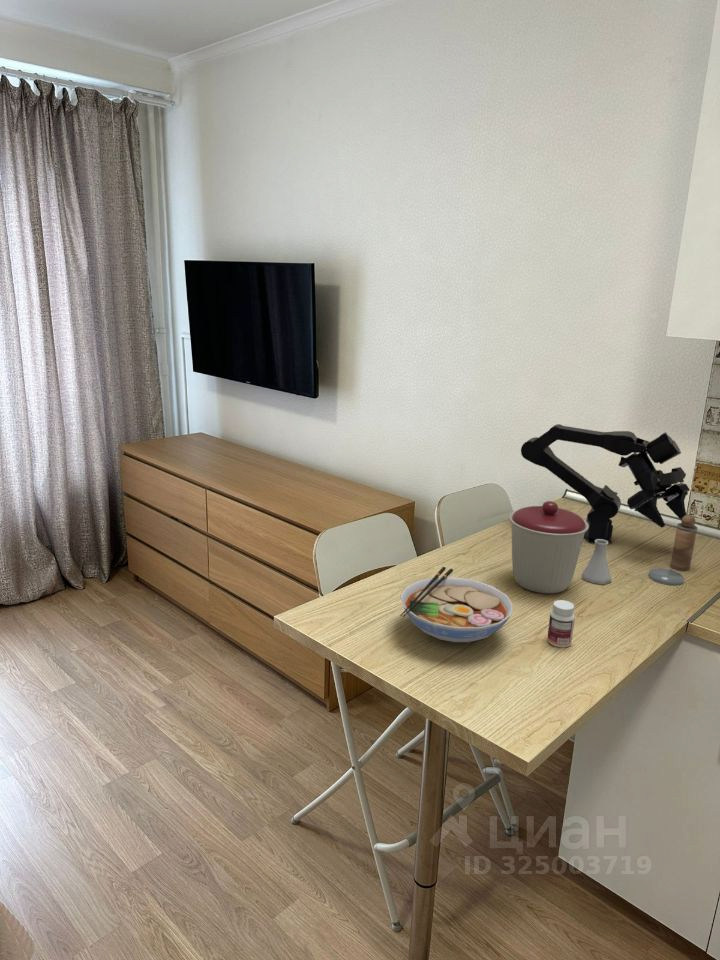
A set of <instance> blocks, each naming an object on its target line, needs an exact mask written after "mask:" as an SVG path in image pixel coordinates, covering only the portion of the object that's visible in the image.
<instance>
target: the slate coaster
mask: <svg viewBox="0 0 720 960" xmlns="http://www.w3.org/2000/svg"><path fill="white" fill-rule="evenodd" d="M648 577H649V579H651V580H652V581H653V582H656V583H659V584H663V585H665V586H680V585H682V584H683V583H684V579H685V577H684V575H682V574H681V573H680V572H679V571H677V570H676V571H675V570H674V569H670V568H662V567H661V568H660V567H655V568H650V570H649V571H648Z"/></svg>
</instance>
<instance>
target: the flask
mask: <svg viewBox="0 0 720 960" xmlns="http://www.w3.org/2000/svg"><path fill="white" fill-rule="evenodd" d="M594 544H595V546H594V551H593V552H592V554H591V557H590V558H589V561H588V562H587V564H586V566H585V568H584V569H583V570H582V573H581V579H583V580H585V581H587V582H588V583H592V584H599V585H607V584H610V583H612V577H611V572H610V567H609V564H608V563H609V562H608V558H607V546H608V544H609V543H608V541H606V540H602V539H596V540H595V543H594Z"/></svg>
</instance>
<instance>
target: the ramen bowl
mask: <svg viewBox="0 0 720 960" xmlns="http://www.w3.org/2000/svg"><path fill="white" fill-rule="evenodd" d="M446 569H447V568H446V567H445V566H442V567H441V568H440V570H438V572H437V573H436V574H435V575H434V576H433V577H429V578H424V579H420V580H416V581H414V582H413V583H411V584H409V585H407V586H405V587H404V588H403V591H402V592H401V594H400V600H401V603H402V606H403V610H404V611H403V612H402V613H401V614H400V617H403V618H404V617H405V616H408V618H409V619H410V621H411V622H412V623H413V624H414V625H415V626H416V627H417V628H419V629H420V630H421V631H422V632H424V633H425V634H427V635H429V636H432V637H434V638H436V639H438V640H441V641H446V642H453V643H472V642H475V641H479V640H483V639H487V638H489V637H490V636H492V635H493V634H494V633H495V632H497V631H498V630H499V629H501V628H502V627H503V626H504V625H505V624H506V623H507V622H508V620H509V619H510V618H511V616H512V612H513V608H514V604H513V603H512V601H511V599H510V598H509V596H508V595H507V594H506V593H504V592H502V591H501V590H499V589H498V588H497V587H494V586H492V585H489V584H486V583H483V582H481V581H479V580H475V579H470V578H462V577H457V576H450V575H451V574H452V573H453V572H454V568H449V569H448V570H447V572H446V573H444V572H445V571H446ZM443 573H444V574H443ZM442 574H443V575H442ZM441 575H442V576H441ZM404 613H405V614H404ZM403 614H404V615H403Z"/></svg>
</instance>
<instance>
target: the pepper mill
mask: <svg viewBox="0 0 720 960" xmlns="http://www.w3.org/2000/svg"><path fill="white" fill-rule="evenodd" d="M680 521H681V522H679V523H677V524H676V530H675V531H676V532H675V536H674V537H675V538H674V543H673V546H672V547H673V549H672V553H671V560H670V564H669V567H670V568H671V569H672V570H674V571H675V570H676V571H678V572H689V571H690V569H691V563H692V558H693V553H694V547H695V542H696V537H697V532H698V526H696V525H695V524H696V518H695V516H693V515H691V514H686V515H685V516H684V517H683V518H682V520H680Z"/></svg>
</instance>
